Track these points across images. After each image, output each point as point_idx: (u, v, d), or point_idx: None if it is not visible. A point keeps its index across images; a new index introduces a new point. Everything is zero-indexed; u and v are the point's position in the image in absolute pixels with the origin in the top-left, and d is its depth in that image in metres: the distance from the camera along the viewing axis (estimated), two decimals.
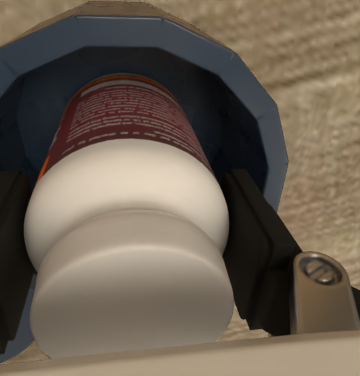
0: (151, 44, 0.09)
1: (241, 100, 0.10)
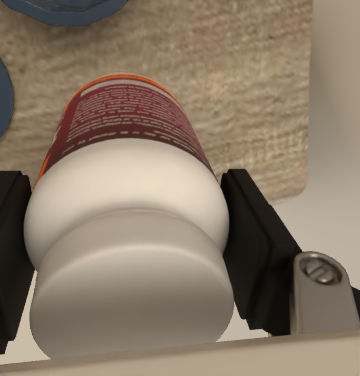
0: None
1: None
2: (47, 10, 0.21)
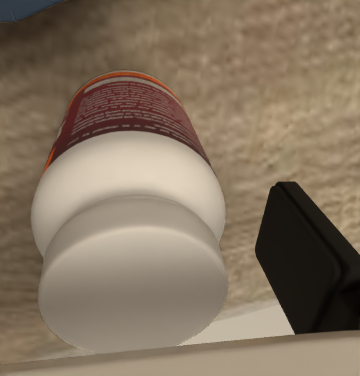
0: None
1: None
2: None
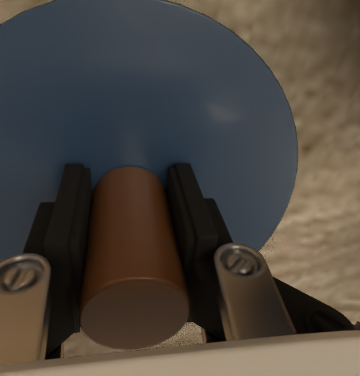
0: None
1: None
2: None
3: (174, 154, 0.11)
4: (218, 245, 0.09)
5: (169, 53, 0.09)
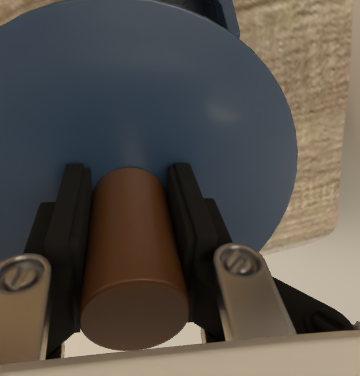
0: None
1: None
2: None
3: (174, 155, 0.11)
4: (217, 245, 0.09)
5: (169, 55, 0.09)
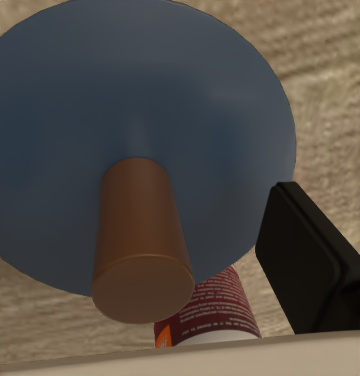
0: None
1: None
2: None
3: (179, 146, 0.12)
4: None
5: (175, 50, 0.10)
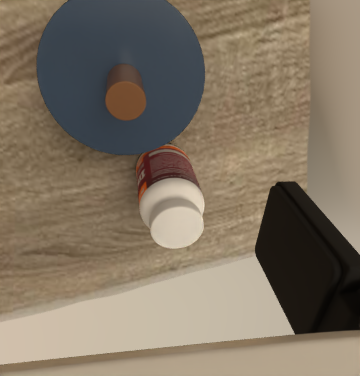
0: None
1: None
2: None
3: (144, 58, 0.25)
4: None
5: (140, 9, 0.23)
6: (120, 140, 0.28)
